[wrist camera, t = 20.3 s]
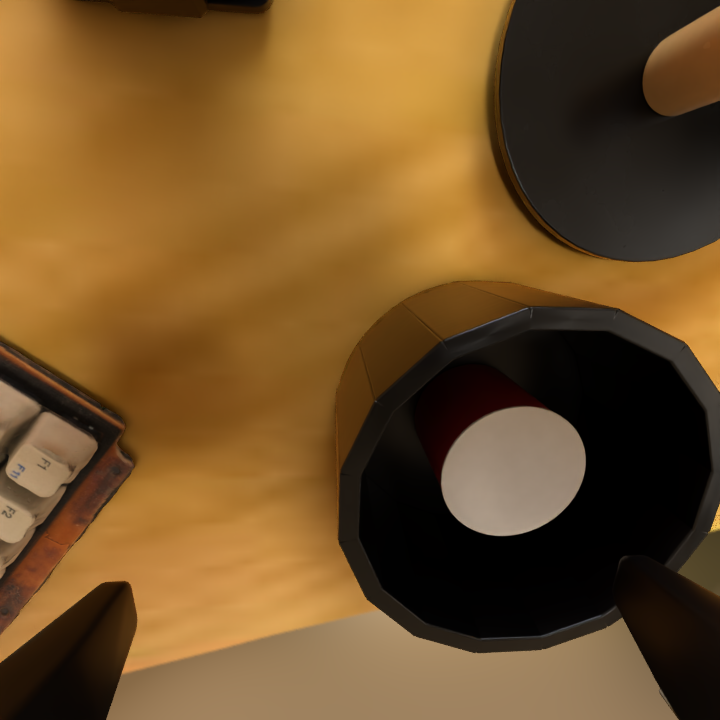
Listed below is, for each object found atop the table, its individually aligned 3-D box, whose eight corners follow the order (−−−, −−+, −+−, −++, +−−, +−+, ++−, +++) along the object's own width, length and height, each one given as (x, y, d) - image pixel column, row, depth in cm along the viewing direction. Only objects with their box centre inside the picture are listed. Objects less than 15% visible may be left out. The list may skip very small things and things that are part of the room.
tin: (337, 277, 15) (342, 302, 9) (612, 283, 16) (787, 311, 10) (333, 520, 19) (335, 661, 12) (562, 515, 19) (671, 644, 13)
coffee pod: (417, 361, 16) (448, 406, 12) (529, 362, 16) (599, 406, 12) (409, 464, 17) (435, 538, 13) (512, 463, 18) (570, 534, 13)
